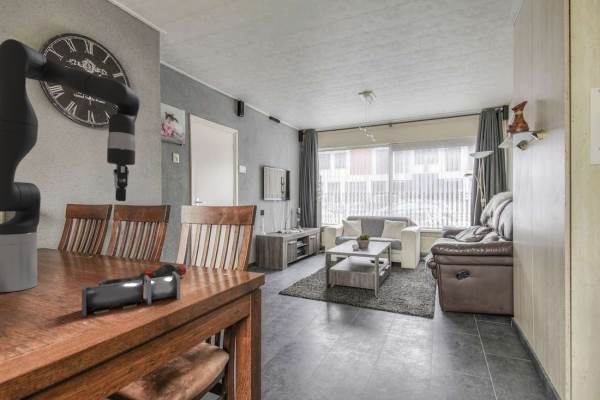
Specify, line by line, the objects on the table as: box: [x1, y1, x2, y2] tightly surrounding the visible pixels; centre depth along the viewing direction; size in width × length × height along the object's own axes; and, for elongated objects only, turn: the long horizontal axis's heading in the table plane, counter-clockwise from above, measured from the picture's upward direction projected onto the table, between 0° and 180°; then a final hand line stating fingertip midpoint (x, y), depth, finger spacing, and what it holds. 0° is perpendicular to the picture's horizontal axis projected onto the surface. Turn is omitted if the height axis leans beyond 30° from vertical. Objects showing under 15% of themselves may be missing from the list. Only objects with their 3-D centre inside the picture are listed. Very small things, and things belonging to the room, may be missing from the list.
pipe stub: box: [81, 279, 144, 318], centre depth 75 cm, size 13×6×6 cm, turn 125°
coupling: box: [143, 272, 181, 306], centre depth 81 cm, size 8×6×6 cm
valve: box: [98, 263, 187, 286], centre depth 101 cm, size 6×26×15 cm
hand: (120, 200), depth 92 cm, fingers open, 8 cm apart
